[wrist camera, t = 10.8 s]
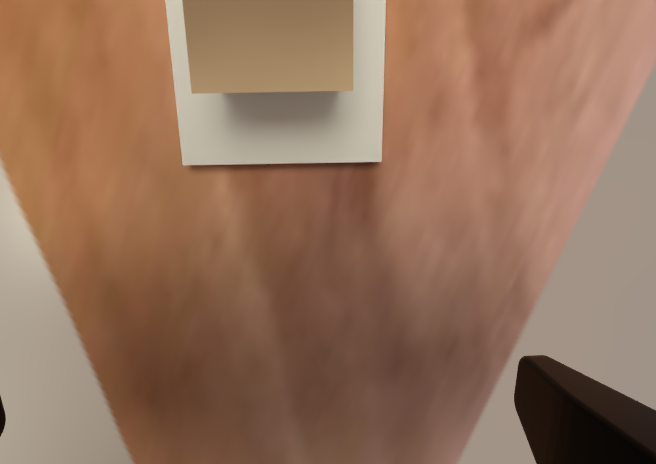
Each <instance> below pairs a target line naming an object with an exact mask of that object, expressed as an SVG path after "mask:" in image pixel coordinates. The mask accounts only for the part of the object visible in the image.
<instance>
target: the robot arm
mask: <svg viewBox="0 0 656 464" xmlns="http://www.w3.org/2000/svg"><path fill="white" fill-rule="evenodd" d="M514 402H515V407H516V411H517V413H518V416H519V419H520V421H521V424H522V426H523V429H524V432H525V434H526V437H527V440H528V442H529V445H530V448H531V450H532V453H533V455H534V458H535V460H536V463H537V464H656V410H653V409H651V408H650V407H647V406H645V405H643V404H642V403H640V402H638V401H635V400H634V399H632V398H630V397H627V396H625V395H624V394H621V393H620V392H618V391H616V390H613V389H612V388H610V387H608V386H606V385H604V384H601V383H600V382H598V381H595V380H594V379H592V378H590V377H588V376H585V375H583V374H582V373H580V372H578V371H576V370H574V369H572V368H570V367H567V366H565V365H564V364H562V363H560V362H558V361H555V360H554V359H552V358H549V357H547V356H544V355H540V356H539V355H537V356H524V357H522V358H521V359H520V361H519V365H518V371H517V379H516V386H515V393H514ZM5 420H6V419H5V411H4V408H3V404H2V400H1V397H0V436H1V434H2V432H3V429H4V426H5Z"/></svg>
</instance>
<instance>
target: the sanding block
mask: <svg viewBox="0 0 656 464" xmlns="http://www.w3.org/2000/svg"><path fill="white" fill-rule="evenodd" d="M182 2H183V12H184V22H185V32H186V42H187V52H188V62H189V72H190V82H191V92H192V94H196V93H254V92H312V91H353V0H182Z"/></svg>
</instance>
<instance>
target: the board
mask: <svg viewBox="0 0 656 464" xmlns="http://www.w3.org/2000/svg"><path fill="white" fill-rule="evenodd" d="M165 3H166V12H167V21H168V31H169V40H170V50H171V59H172V69H173V78H174V87H175V97H176V106H177V116H178V125H179V134H180V144H181V153H182V163H183V165H231V164H287V163H343V162H382V127H383V89H384V51H385V14H386V0H353V91H312V92H254V93H196V94H192V92H191V82H190V72H189V62H188V52H187V42H186V32H185V22H184V12H183V2H182V0H165Z"/></svg>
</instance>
